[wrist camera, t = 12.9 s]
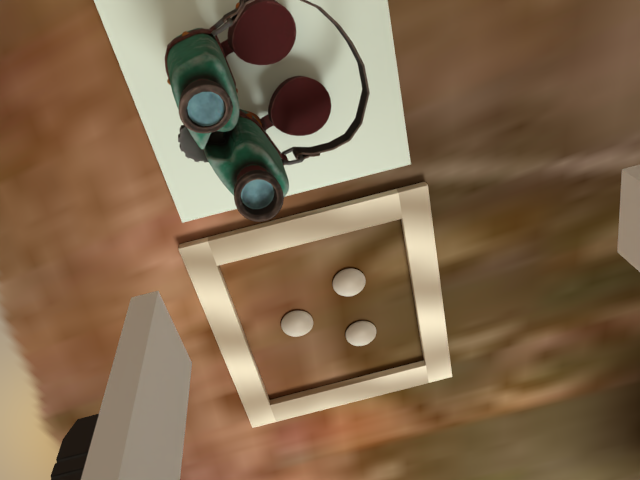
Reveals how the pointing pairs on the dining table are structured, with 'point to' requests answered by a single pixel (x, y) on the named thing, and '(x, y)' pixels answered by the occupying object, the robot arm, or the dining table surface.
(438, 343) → the frame
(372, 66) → the pad
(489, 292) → the dining table surface
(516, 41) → the dining table surface
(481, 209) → the dining table surface
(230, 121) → the binoculars
